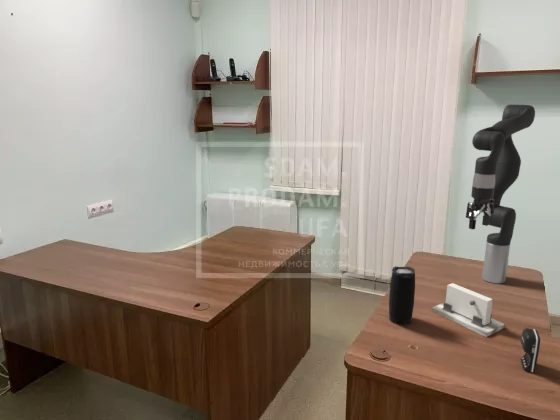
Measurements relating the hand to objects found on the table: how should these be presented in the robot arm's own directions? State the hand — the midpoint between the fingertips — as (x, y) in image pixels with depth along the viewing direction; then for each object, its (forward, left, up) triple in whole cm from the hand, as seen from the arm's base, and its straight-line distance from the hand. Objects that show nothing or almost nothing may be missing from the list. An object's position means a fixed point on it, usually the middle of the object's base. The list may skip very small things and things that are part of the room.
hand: (478, 227), depth 165 cm
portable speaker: (+36, -4, -30) cm, 47 cm away
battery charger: (+26, +36, -30) cm, 54 cm away
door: (+16, +9, -28) cm, 34 cm away
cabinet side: (+16, +9, -30) cm, 35 cm away
